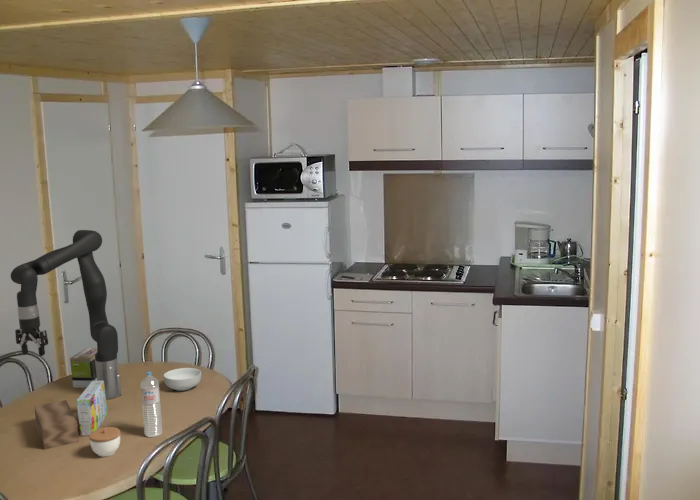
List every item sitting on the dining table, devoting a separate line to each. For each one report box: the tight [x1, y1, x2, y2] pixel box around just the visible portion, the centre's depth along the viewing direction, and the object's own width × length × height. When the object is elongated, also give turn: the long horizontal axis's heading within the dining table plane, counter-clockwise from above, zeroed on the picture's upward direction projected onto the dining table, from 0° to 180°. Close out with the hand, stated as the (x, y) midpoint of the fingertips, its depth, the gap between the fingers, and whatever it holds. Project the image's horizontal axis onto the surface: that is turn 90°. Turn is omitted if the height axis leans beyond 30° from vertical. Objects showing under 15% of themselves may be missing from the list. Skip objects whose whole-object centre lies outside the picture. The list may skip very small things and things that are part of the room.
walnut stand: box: [34, 399, 80, 450], centre depth 271 cm, size 12×26×8 cm, turn 30°
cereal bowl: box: [163, 367, 202, 392], centre depth 317 cm, size 17×17×7 cm
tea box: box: [69, 347, 97, 389], centre depth 327 cm, size 15×10×15 cm, turn 172°
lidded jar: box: [88, 426, 121, 458], centre depth 253 cm, size 11×11×9 cm
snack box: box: [75, 381, 108, 437], centre depth 278 cm, size 21×6×15 cm, turn 5°
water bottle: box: [139, 371, 163, 438], centre depth 267 cm, size 7×7×25 cm
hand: (33, 354), depth 279 cm, fingers open, 8 cm apart
